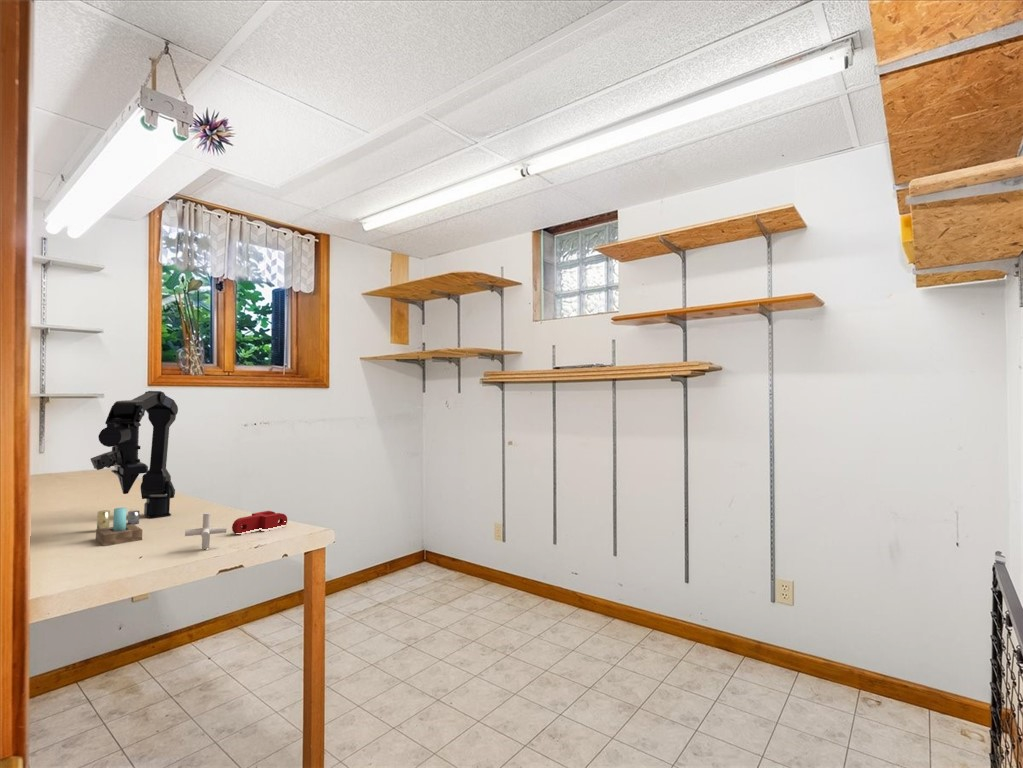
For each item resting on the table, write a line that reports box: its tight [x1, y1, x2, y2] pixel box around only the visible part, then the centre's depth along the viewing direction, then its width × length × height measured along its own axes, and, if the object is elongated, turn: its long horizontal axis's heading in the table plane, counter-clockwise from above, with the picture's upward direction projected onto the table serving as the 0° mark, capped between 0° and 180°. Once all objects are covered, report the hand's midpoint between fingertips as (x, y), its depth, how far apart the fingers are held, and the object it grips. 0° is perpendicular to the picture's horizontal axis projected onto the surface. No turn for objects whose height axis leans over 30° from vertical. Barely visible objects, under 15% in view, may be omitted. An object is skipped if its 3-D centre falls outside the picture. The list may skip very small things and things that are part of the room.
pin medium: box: [96, 509, 111, 529], centre depth 164 cm, size 3×3×6 cm
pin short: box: [127, 509, 140, 526], centre depth 174 cm, size 3×3×4 cm
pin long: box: [112, 507, 128, 532], centre depth 155 cm, size 3×3×9 cm
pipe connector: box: [184, 511, 228, 550], centre depth 149 cm, size 10×10×10 cm
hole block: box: [95, 524, 143, 547], centre depth 155 cm, size 9×9×3 cm
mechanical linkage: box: [231, 510, 288, 534], centre depth 170 cm, size 16×7×5 cm, turn 149°
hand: (125, 493), depth 162 cm, fingers closed
